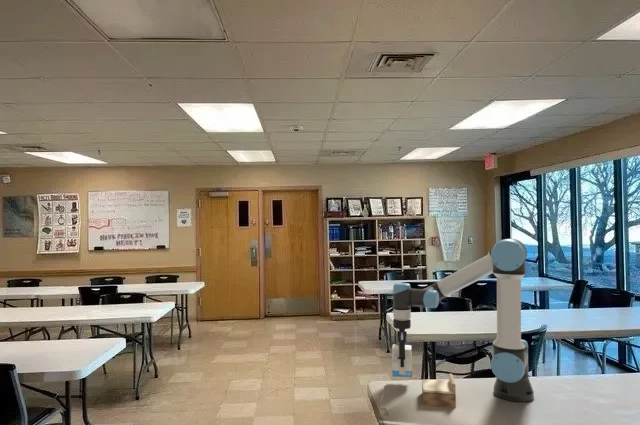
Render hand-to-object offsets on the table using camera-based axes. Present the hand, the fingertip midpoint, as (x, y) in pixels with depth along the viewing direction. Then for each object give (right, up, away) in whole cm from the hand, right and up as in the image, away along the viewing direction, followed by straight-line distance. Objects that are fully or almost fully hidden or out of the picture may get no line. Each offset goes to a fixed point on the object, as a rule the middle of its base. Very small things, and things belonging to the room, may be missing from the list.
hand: (402, 370), depth 186 cm
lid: (+11, -1, -17) cm, 20 cm away
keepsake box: (+11, -6, -17) cm, 21 cm away
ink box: (0, -2, 0) cm, 2 cm away
